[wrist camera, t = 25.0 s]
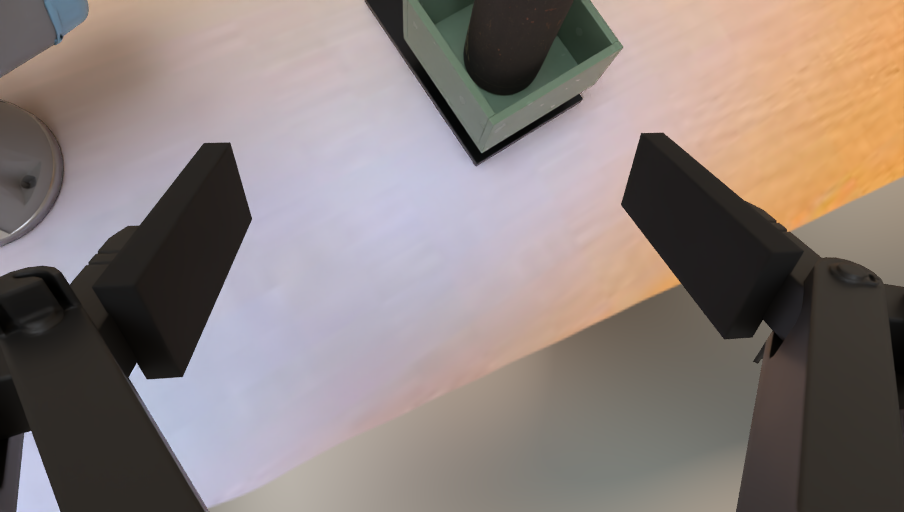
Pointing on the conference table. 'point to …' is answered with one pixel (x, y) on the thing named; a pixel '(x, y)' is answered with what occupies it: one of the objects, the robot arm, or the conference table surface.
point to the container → (510, 41)
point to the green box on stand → (476, 110)
